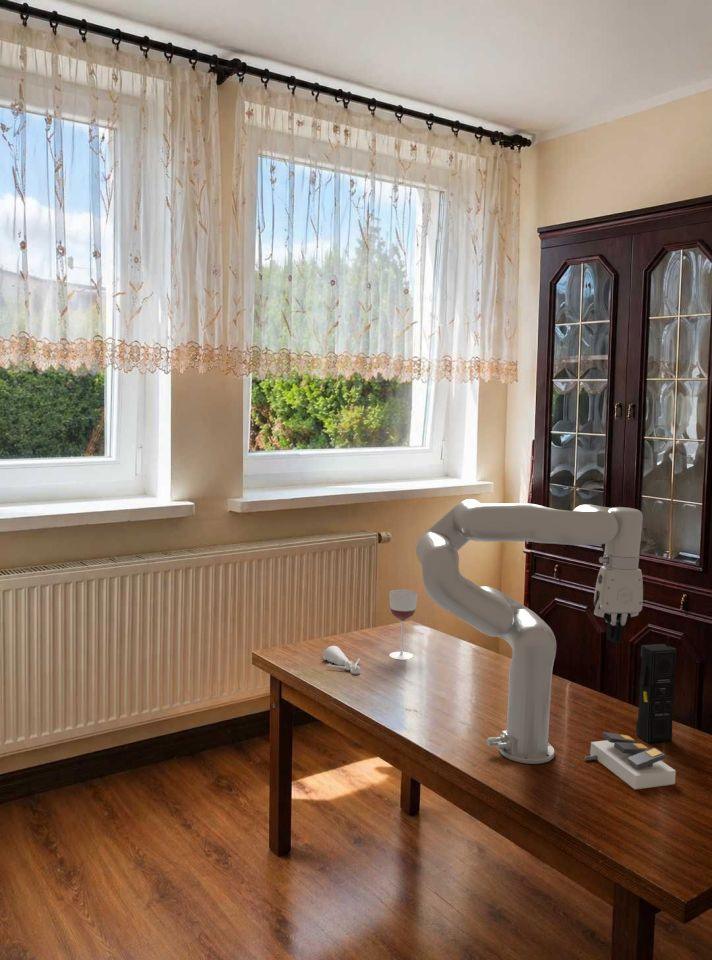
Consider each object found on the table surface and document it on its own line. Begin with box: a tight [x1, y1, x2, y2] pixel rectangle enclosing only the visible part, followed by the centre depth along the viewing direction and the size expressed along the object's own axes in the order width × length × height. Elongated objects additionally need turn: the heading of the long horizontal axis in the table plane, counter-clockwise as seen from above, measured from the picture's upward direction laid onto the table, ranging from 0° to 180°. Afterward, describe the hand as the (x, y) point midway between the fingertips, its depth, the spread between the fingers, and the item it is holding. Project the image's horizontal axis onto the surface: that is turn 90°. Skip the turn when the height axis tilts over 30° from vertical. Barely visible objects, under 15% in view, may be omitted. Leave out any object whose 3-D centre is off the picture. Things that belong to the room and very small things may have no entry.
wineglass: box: [388, 588, 419, 661], centre depth 258 cm, size 8×9×20 cm
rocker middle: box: [614, 742, 650, 756], centre depth 186 cm, size 7×4×2 cm, turn 107°
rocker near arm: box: [601, 731, 638, 743], centre depth 190 cm, size 7×4×2 cm, turn 107°
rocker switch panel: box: [584, 739, 677, 790], centre depth 186 cm, size 13×17×3 cm
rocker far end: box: [627, 747, 666, 769], centre depth 181 cm, size 7×4×2 cm, turn 106°
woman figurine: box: [322, 645, 361, 675], centre depth 249 cm, size 12×4×18 cm
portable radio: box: [635, 635, 677, 744], centre depth 201 cm, size 8×6×25 cm
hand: (613, 640), depth 191 cm, fingers closed
